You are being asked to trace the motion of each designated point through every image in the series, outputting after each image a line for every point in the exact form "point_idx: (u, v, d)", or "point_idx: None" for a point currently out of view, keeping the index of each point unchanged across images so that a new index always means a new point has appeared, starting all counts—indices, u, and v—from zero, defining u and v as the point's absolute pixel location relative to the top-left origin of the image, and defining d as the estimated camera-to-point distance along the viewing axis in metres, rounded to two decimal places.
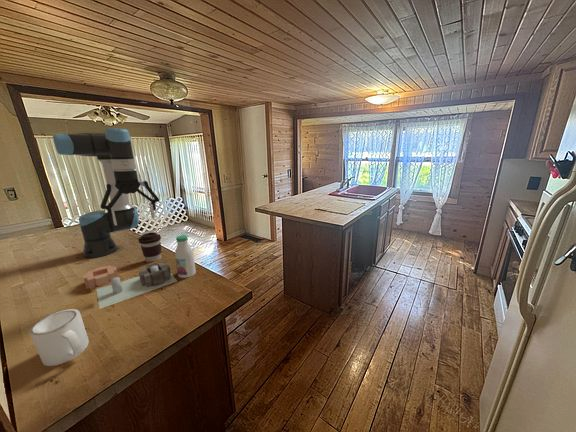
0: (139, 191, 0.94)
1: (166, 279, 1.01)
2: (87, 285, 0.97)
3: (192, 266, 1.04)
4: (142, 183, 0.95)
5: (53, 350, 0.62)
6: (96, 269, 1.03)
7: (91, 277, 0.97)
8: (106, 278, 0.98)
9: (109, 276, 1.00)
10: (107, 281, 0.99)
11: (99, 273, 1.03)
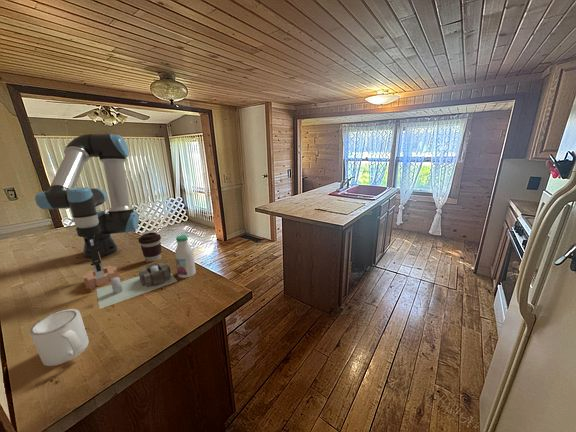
0: (87, 248, 0.93)
1: (166, 279, 1.01)
2: (87, 285, 0.97)
3: (192, 266, 1.04)
4: None
5: (53, 350, 0.62)
6: None
7: (91, 277, 0.97)
8: (106, 278, 0.98)
9: (109, 276, 1.00)
10: (107, 281, 0.99)
11: None
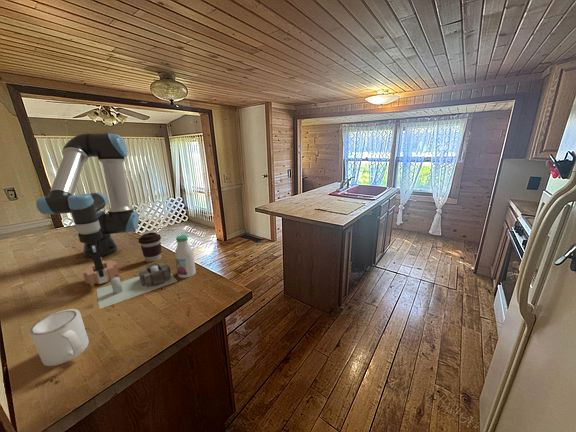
0: (90, 254, 0.95)
1: (166, 279, 1.01)
2: (87, 280, 0.97)
3: (192, 266, 1.04)
4: None
5: (53, 350, 0.62)
6: None
7: (90, 271, 0.97)
8: (106, 273, 0.98)
9: (109, 271, 1.00)
10: (107, 276, 0.99)
11: None
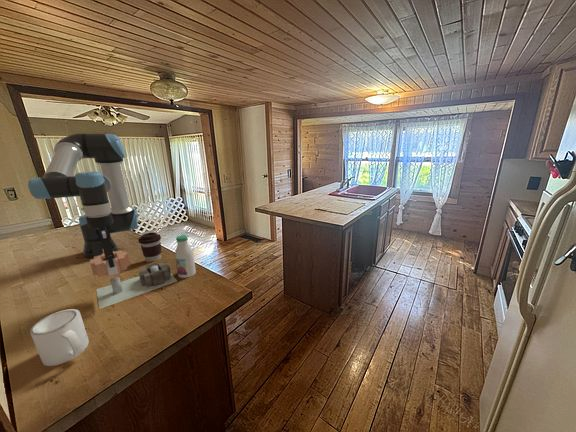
0: (99, 241, 0.83)
1: (166, 279, 1.01)
2: (94, 271, 0.85)
3: (192, 266, 1.04)
4: None
5: (53, 350, 0.62)
6: (104, 254, 0.91)
7: (99, 261, 0.84)
8: (116, 263, 0.85)
9: (119, 261, 0.87)
10: (117, 267, 0.86)
11: None
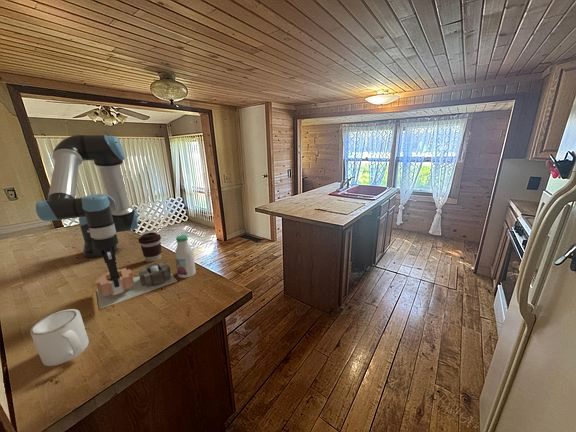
0: None
1: (166, 279, 1.01)
2: (100, 290, 0.87)
3: (192, 266, 1.04)
4: None
5: (53, 350, 0.62)
6: None
7: (104, 281, 0.87)
8: (121, 282, 0.88)
9: (124, 280, 0.90)
10: (122, 286, 0.89)
11: None
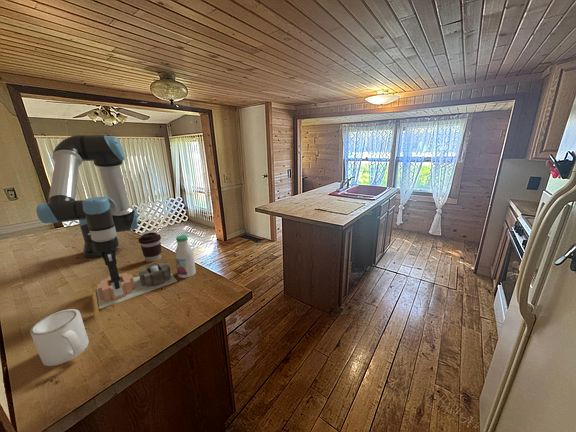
0: (105, 263, 0.85)
1: (166, 279, 1.01)
2: (101, 296, 0.88)
3: (192, 266, 1.04)
4: None
5: (53, 350, 0.62)
6: (110, 277, 0.94)
7: (106, 286, 0.88)
8: (122, 288, 0.89)
9: (125, 285, 0.91)
10: (123, 291, 0.89)
11: None
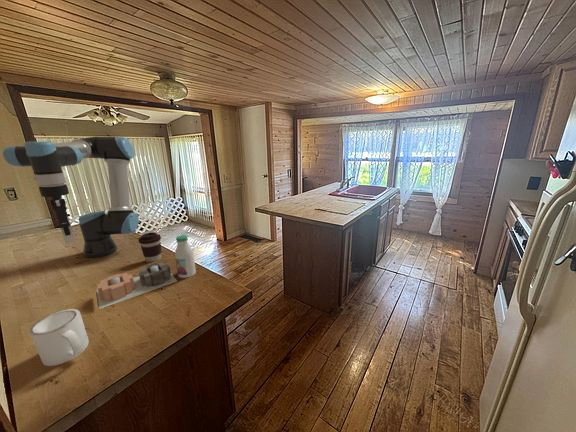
0: None
1: (166, 279, 1.01)
2: (101, 296, 0.88)
3: (192, 266, 1.04)
4: None
5: (53, 350, 0.62)
6: (110, 277, 0.94)
7: (106, 286, 0.88)
8: (122, 288, 0.89)
9: (125, 285, 0.91)
10: (123, 291, 0.89)
11: None
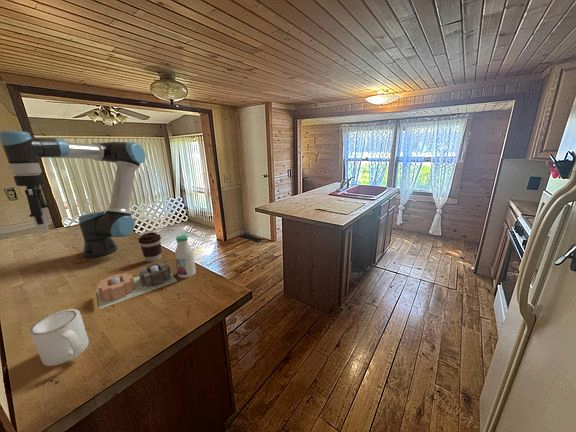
0: None
1: (166, 279, 1.01)
2: (101, 296, 0.88)
3: (192, 266, 1.04)
4: None
5: (53, 350, 0.62)
6: (110, 277, 0.94)
7: (106, 286, 0.88)
8: (122, 288, 0.89)
9: (125, 285, 0.91)
10: (123, 291, 0.89)
11: None
